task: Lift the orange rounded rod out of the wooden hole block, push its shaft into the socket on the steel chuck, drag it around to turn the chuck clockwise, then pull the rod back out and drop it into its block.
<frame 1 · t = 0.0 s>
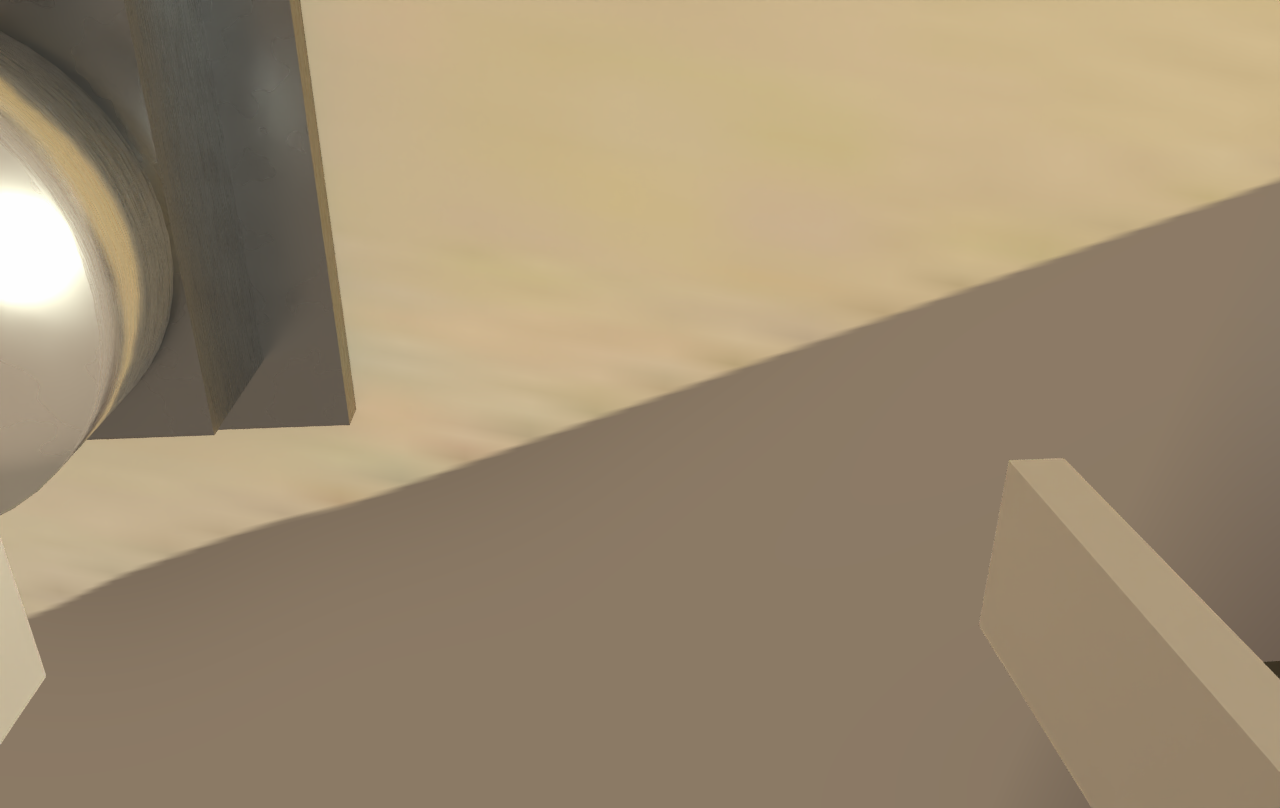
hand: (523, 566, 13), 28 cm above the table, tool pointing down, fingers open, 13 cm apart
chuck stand: (53, 180, 37), on the table
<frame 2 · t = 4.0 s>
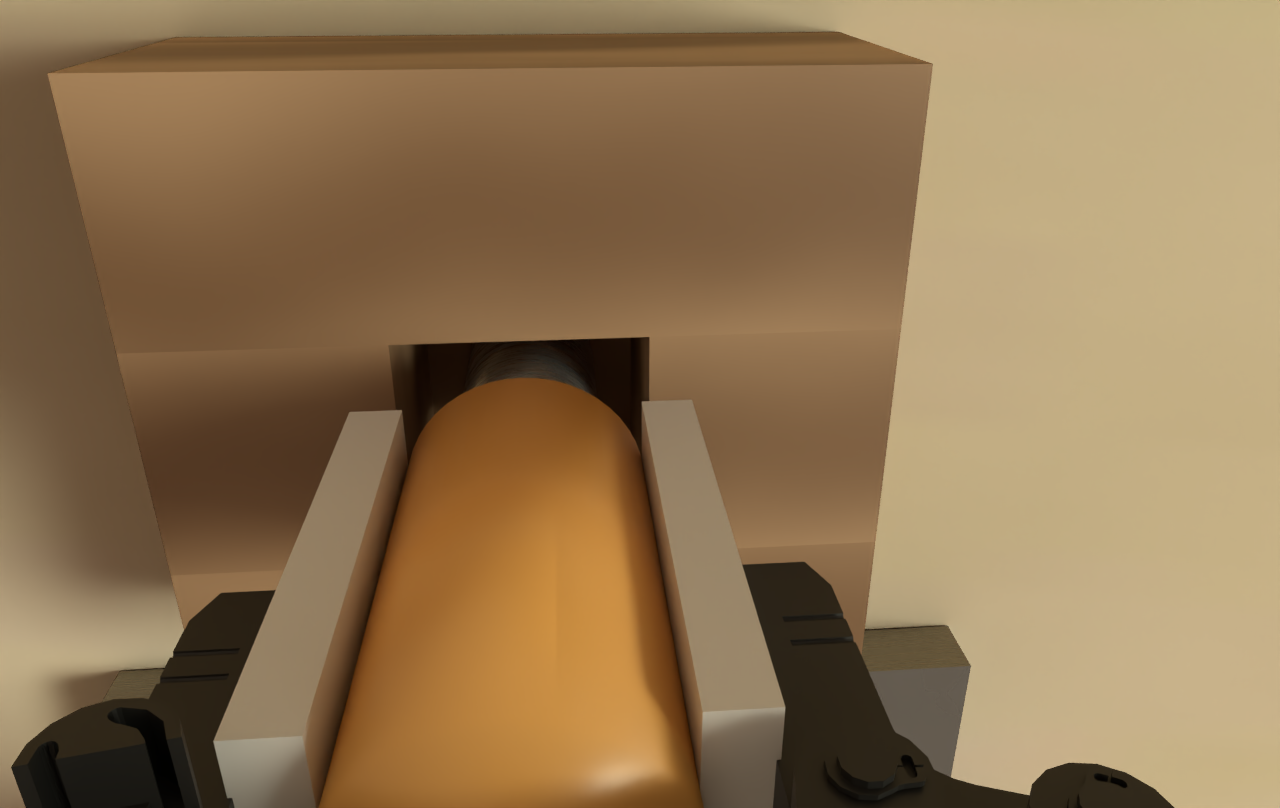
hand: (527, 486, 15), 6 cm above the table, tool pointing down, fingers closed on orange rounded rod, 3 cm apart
orange rounded rod: (532, 358, 20), point 1 cm above the table, touching gripper
wooden hole block: (531, 341, 21), on the table
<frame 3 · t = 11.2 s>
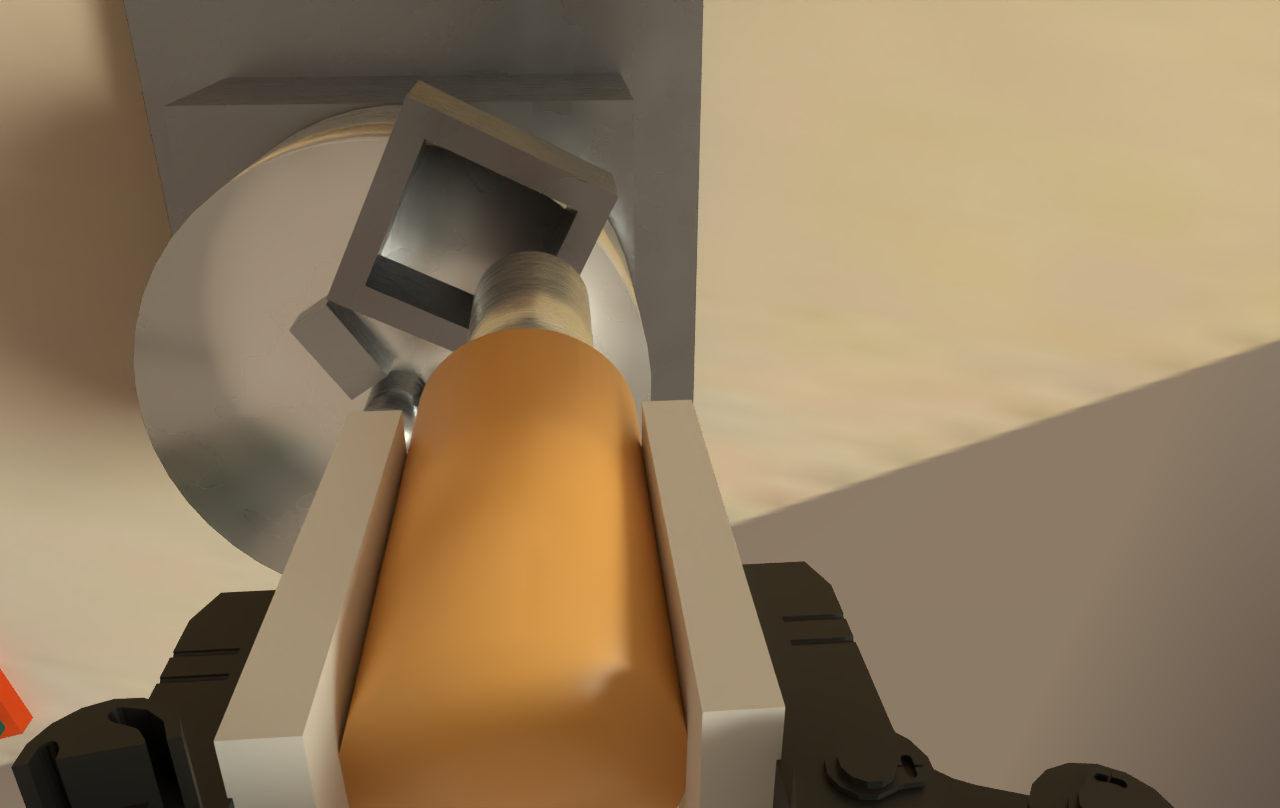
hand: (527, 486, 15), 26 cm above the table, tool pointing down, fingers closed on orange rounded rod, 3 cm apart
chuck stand: (446, 251, 40), on the table
chuck: (413, 361, 29), point 13 cm above the table, hinge at -26.7°
orange rounded rod: (531, 305, 21), point 20 cm above the table, touching gripper
when the fingers open (7 cm above the table, at t = 16.2 s): orange rounded rod stays where it is, resting on wooden hole block.
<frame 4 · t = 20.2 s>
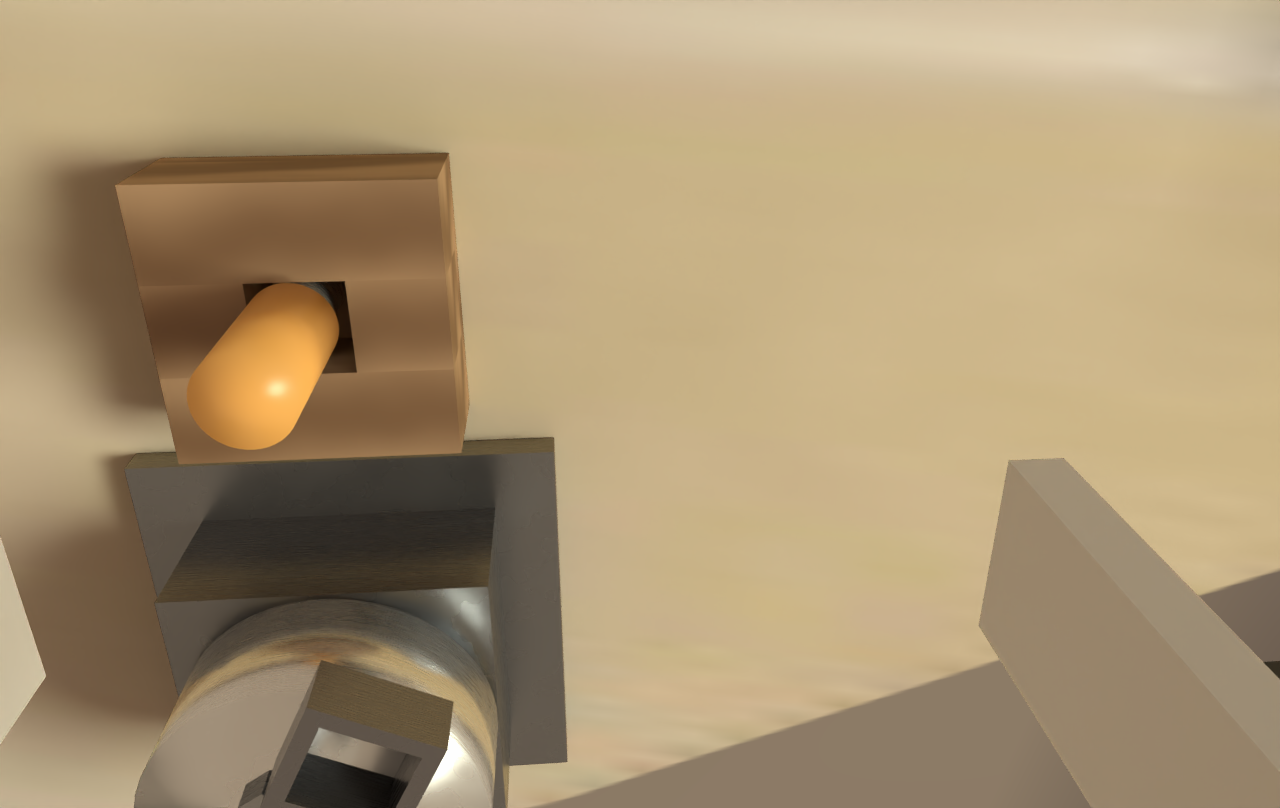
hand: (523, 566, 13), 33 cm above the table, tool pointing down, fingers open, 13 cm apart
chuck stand: (372, 612, 53), on the table
chuck: (328, 790, 41), point 13 cm above the table, hinge at -26.7°
orange rounded rod: (318, 285, 44), point 1 cm above the table, touching wooden hole block
wooden hole block: (325, 289, 45), on the table
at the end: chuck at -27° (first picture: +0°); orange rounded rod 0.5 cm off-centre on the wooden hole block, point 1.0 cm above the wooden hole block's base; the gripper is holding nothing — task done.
